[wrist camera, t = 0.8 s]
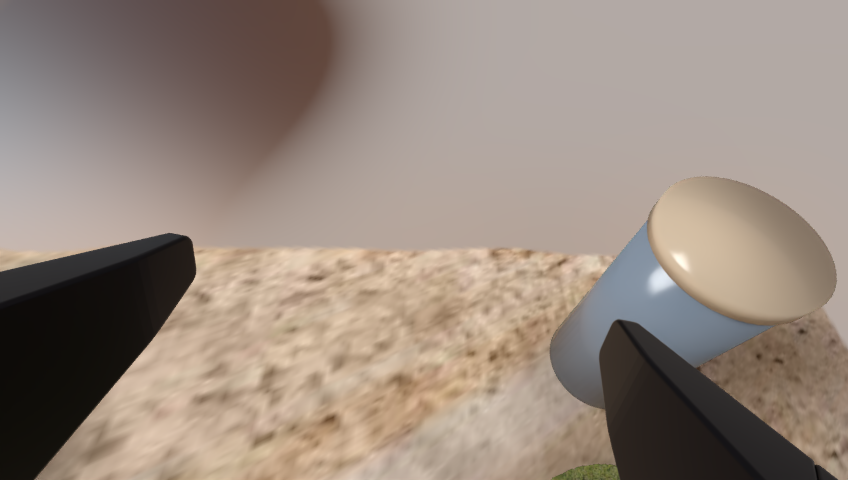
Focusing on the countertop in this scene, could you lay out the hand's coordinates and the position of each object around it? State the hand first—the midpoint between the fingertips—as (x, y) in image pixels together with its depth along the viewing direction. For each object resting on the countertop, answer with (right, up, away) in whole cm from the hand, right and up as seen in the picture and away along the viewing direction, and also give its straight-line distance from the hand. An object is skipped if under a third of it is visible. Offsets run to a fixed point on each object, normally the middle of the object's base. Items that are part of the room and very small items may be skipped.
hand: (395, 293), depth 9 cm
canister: (+11, -6, +16) cm, 20 cm away
